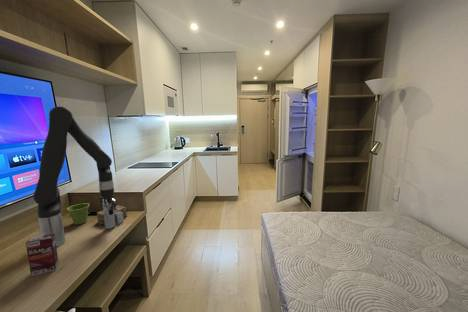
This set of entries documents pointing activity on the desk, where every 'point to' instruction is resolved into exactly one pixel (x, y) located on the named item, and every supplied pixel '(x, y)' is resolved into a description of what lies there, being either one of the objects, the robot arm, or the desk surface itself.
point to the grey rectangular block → (118, 217)
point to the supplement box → (42, 254)
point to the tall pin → (108, 218)
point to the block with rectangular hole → (118, 208)
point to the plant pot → (79, 213)
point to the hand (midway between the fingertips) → (109, 213)
